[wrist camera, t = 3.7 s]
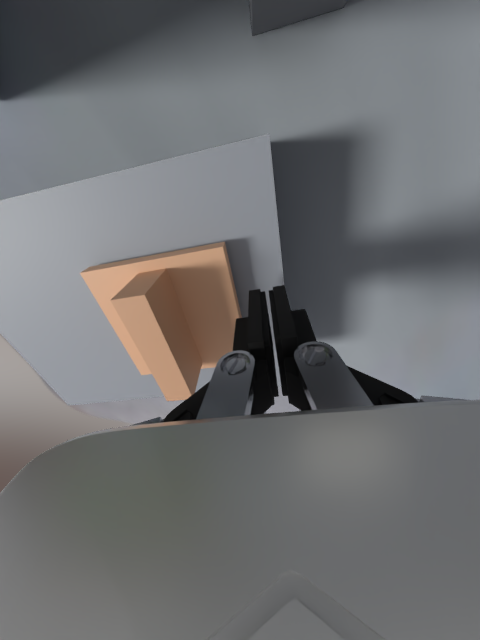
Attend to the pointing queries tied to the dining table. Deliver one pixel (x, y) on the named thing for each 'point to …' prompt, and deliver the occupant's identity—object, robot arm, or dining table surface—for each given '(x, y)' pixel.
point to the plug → (287, 12)
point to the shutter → (170, 312)
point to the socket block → (128, 257)
